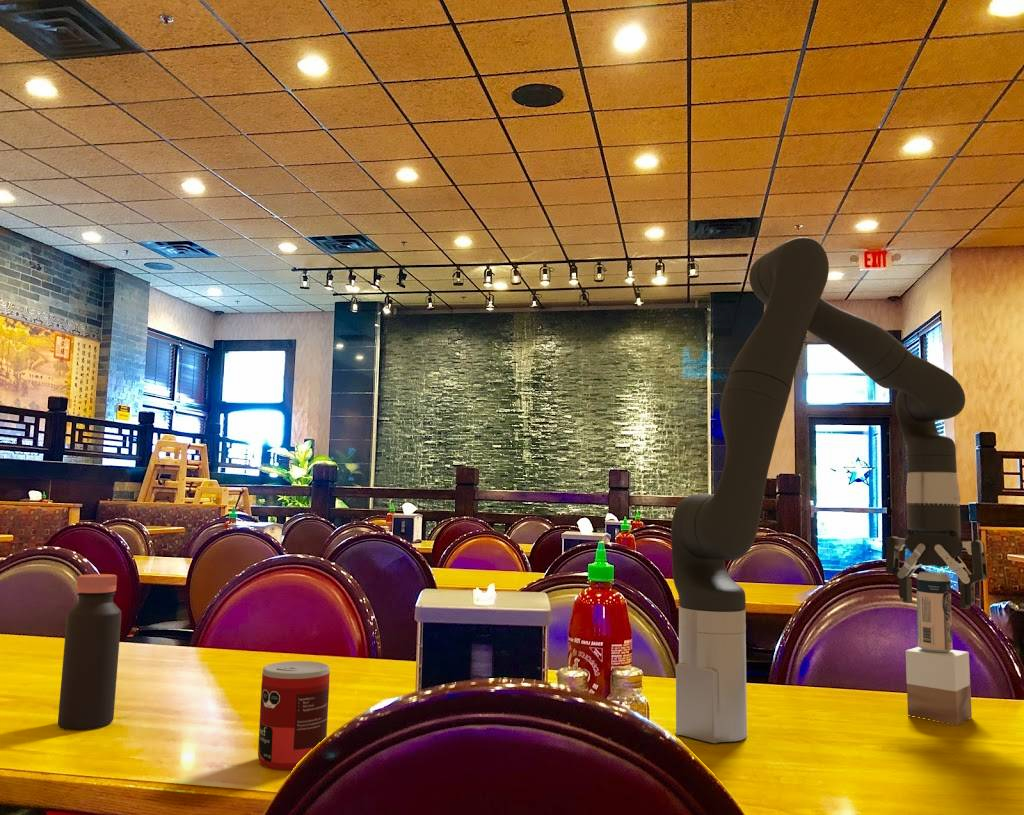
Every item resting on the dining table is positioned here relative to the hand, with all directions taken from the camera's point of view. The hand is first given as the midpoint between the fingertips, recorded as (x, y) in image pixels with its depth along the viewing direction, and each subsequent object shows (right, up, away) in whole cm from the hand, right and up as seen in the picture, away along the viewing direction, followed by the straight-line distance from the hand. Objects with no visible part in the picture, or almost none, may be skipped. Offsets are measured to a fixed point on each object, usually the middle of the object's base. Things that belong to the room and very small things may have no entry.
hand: (936, 605), depth 129 cm
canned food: (-93, -12, -30) cm, 99 cm away
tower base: (0, -17, -2) cm, 17 cm away
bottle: (-125, -12, -17) cm, 127 cm away
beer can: (0, -7, -1) cm, 7 cm away
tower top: (0, -12, -1) cm, 12 cm away
